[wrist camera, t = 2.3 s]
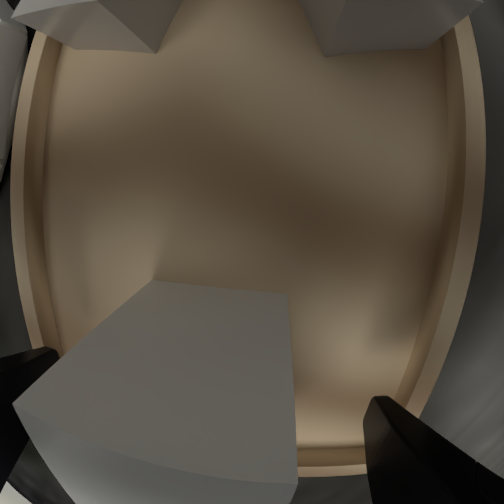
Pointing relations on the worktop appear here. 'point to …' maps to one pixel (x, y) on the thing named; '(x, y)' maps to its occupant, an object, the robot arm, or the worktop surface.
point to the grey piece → (382, 23)
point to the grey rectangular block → (173, 402)
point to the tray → (260, 196)
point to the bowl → (10, 75)
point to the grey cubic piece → (101, 22)
